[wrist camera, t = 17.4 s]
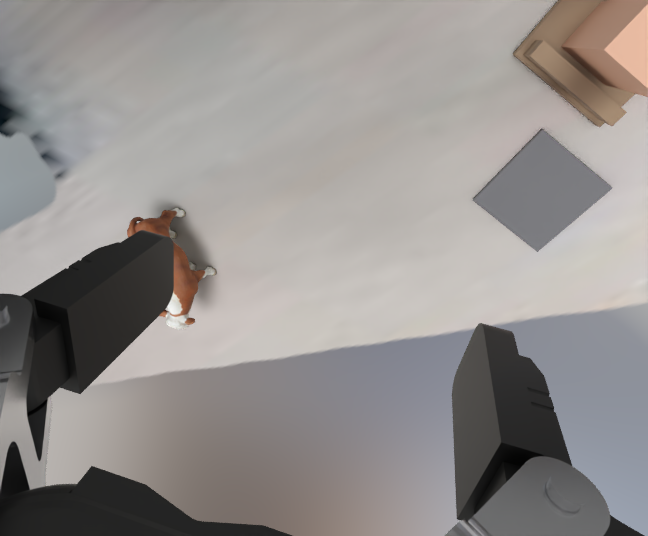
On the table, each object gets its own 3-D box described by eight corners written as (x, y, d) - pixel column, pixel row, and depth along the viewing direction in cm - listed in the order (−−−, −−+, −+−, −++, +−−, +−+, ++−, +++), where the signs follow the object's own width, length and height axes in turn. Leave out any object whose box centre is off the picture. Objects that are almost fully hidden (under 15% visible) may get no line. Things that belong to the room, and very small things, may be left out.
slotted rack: (512, 54, 35) (520, 55, 31) (600, -49, 31) (621, -61, 27) (595, 124, 36) (612, 134, 32) (690, 33, 32) (722, 33, 28)
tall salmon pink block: (560, 46, 33) (603, 49, 24) (601, 1, 31) (663, -13, 22) (604, 84, 33) (661, 100, 25) (646, 42, 31) (724, 44, 23)
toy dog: (200, 303, 54) (164, 342, 47) (153, 203, 49) (105, 230, 42) (230, 298, 53) (197, 338, 46) (184, 195, 48) (140, 222, 41)
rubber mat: (472, 198, 41) (473, 200, 40) (541, 128, 37) (542, 129, 36) (536, 250, 41) (537, 251, 41) (610, 186, 37) (612, 188, 37)
